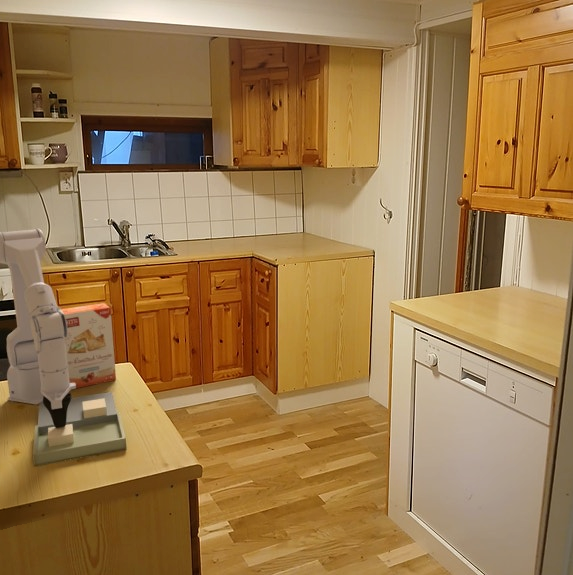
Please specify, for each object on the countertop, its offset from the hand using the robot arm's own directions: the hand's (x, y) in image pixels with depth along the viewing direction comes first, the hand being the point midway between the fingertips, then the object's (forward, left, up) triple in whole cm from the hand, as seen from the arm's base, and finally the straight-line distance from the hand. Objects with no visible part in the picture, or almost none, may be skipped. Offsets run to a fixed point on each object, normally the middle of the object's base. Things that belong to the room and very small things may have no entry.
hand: (60, 426), depth 129 cm
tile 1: (+1, -1, -2) cm, 3 cm away
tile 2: (+2, +9, -1) cm, 10 cm away
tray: (+5, 0, -3) cm, 6 cm away
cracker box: (-14, +28, -3) cm, 31 cm away
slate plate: (-3, +10, -3) cm, 11 cm away
